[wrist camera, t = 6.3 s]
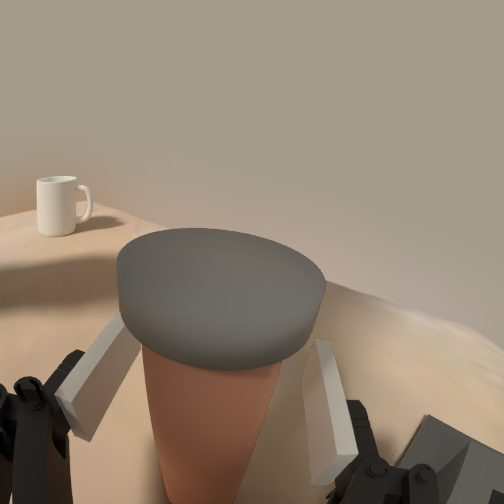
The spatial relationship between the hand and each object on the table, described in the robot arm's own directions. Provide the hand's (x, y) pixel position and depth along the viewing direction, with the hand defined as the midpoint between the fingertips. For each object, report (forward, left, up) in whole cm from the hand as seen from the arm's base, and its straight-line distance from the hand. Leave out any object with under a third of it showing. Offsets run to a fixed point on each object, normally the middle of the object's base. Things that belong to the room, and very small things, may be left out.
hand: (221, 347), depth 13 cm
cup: (-2, +48, -9) cm, 49 cm away
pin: (-3, -3, -8) cm, 10 cm away
